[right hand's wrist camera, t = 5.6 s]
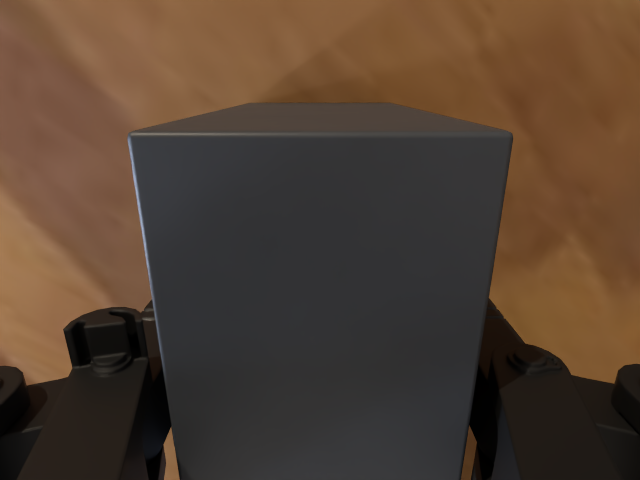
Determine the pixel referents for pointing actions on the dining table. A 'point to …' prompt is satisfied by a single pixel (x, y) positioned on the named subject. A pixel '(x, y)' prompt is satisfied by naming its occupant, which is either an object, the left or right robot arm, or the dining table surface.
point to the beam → (320, 285)
